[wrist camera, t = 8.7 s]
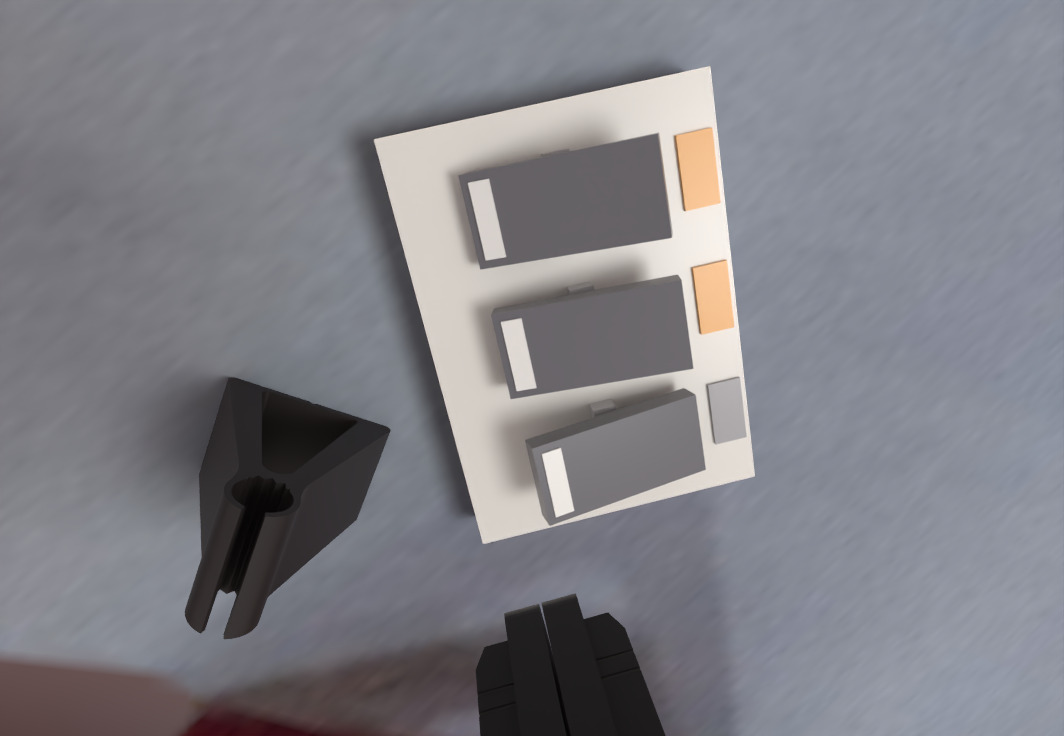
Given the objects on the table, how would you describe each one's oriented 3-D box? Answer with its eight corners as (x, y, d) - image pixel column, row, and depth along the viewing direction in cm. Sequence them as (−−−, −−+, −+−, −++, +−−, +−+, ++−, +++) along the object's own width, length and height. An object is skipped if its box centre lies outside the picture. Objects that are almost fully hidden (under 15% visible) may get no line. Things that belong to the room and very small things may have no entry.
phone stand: (201, 470, 37) (93, 608, 26) (231, 375, 36) (131, 477, 25) (357, 516, 39) (320, 662, 28) (391, 428, 38) (367, 545, 27)
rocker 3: (524, 439, 33) (532, 449, 32) (683, 388, 35) (696, 395, 34) (542, 514, 35) (550, 526, 34) (694, 460, 37) (706, 470, 35)
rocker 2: (494, 308, 33) (490, 315, 32) (677, 274, 32) (681, 280, 30) (513, 390, 34) (510, 400, 33) (689, 360, 33) (693, 369, 32)
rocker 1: (466, 172, 31) (457, 175, 30) (658, 132, 29) (657, 133, 28) (487, 264, 33) (479, 270, 32) (672, 233, 30) (671, 238, 29)
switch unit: (380, 140, 33) (371, 138, 29) (688, 73, 34) (718, 63, 30) (480, 516, 40) (484, 554, 37) (733, 454, 41) (762, 484, 37)
